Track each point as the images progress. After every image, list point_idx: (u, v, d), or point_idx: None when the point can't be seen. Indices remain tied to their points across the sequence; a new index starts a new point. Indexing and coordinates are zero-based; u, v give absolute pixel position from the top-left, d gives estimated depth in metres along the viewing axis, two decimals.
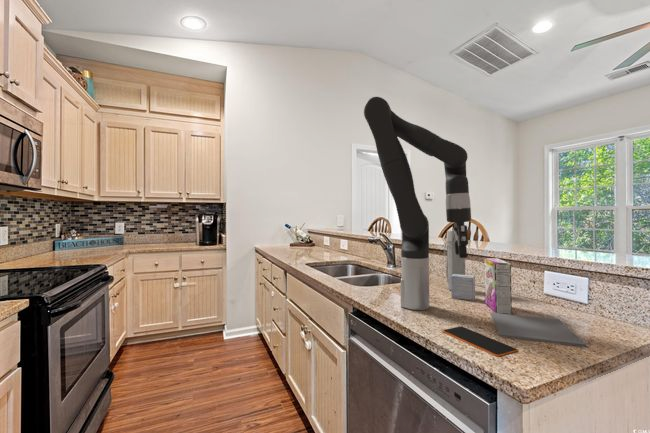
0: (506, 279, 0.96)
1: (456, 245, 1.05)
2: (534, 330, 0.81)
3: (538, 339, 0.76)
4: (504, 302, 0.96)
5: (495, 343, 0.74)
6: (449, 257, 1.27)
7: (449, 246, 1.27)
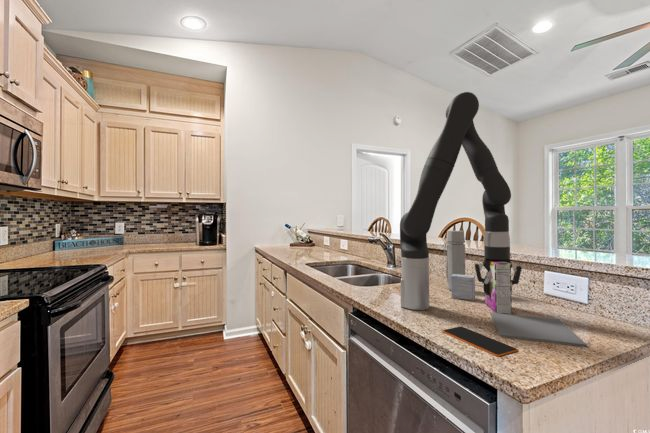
0: (506, 279, 0.96)
1: (488, 285, 1.02)
2: (534, 330, 0.81)
3: (538, 339, 0.76)
4: (504, 302, 0.96)
5: (495, 343, 0.74)
6: (449, 257, 1.27)
7: (449, 246, 1.27)
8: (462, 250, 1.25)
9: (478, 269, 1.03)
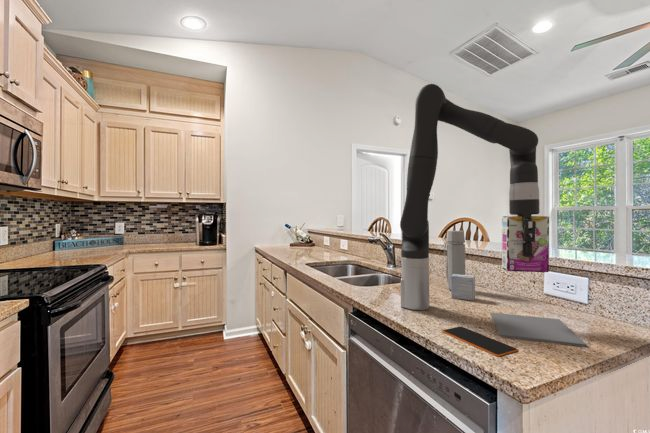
0: None
1: None
2: (534, 330, 0.81)
3: (538, 339, 0.76)
4: None
5: (495, 343, 0.74)
6: (449, 257, 1.27)
7: (449, 246, 1.27)
8: (462, 250, 1.25)
9: None
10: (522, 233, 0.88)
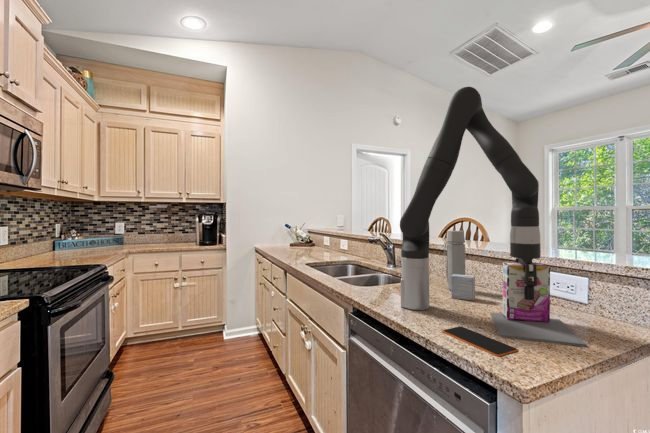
0: None
1: None
2: (534, 330, 0.81)
3: (538, 339, 0.76)
4: None
5: (495, 343, 0.74)
6: (449, 257, 1.27)
7: (449, 246, 1.27)
8: (462, 250, 1.25)
9: None
10: (523, 276, 0.87)
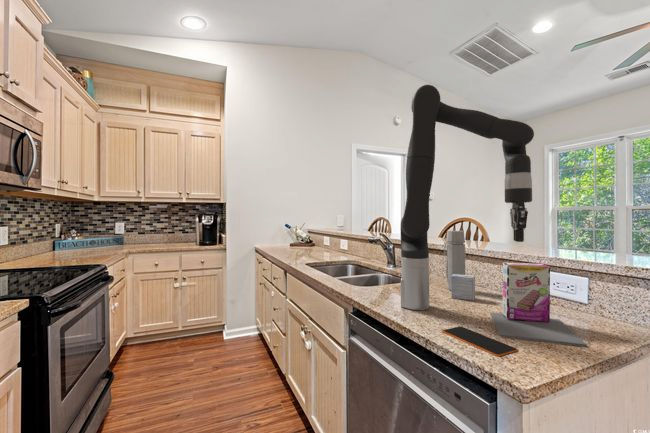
0: None
1: None
2: (534, 330, 0.81)
3: (538, 339, 0.76)
4: None
5: (495, 343, 0.74)
6: (449, 257, 1.27)
7: (449, 246, 1.27)
8: (462, 250, 1.25)
9: None
10: (515, 220, 0.96)
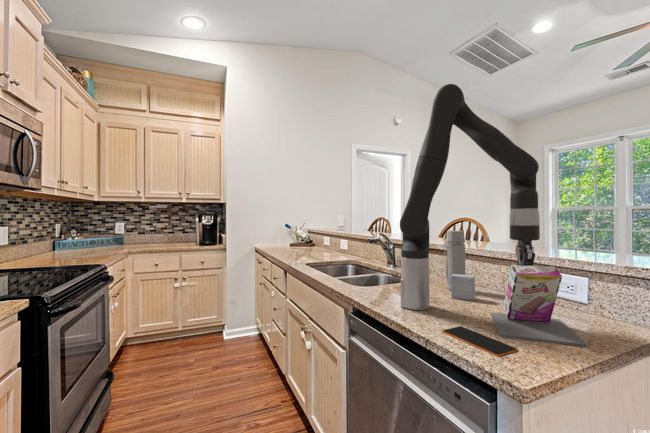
0: None
1: None
2: (534, 330, 0.81)
3: (538, 339, 0.76)
4: None
5: (495, 343, 0.74)
6: (449, 257, 1.27)
7: (449, 246, 1.27)
8: (462, 250, 1.25)
9: None
10: (521, 260, 0.90)
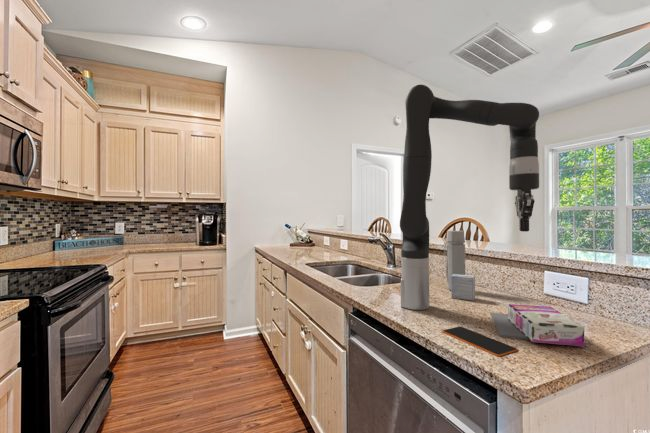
0: None
1: None
2: None
3: None
4: None
5: (495, 343, 0.74)
6: (449, 257, 1.27)
7: (449, 246, 1.27)
8: (462, 250, 1.25)
9: None
10: (520, 209, 0.90)
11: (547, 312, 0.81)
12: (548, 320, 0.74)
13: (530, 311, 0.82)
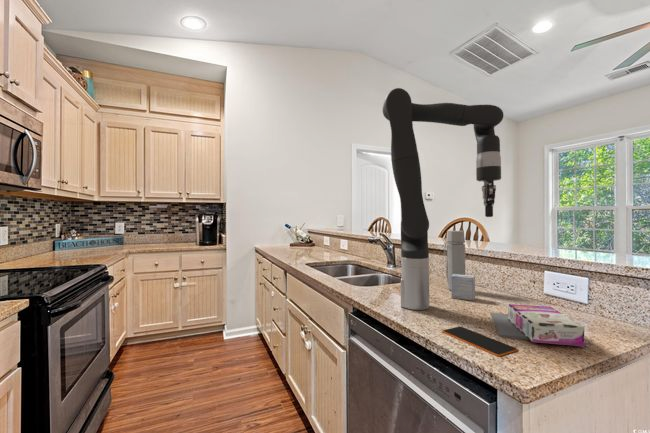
0: None
1: None
2: None
3: None
4: None
5: (495, 343, 0.74)
6: (449, 257, 1.27)
7: (449, 246, 1.27)
8: (462, 250, 1.25)
9: (494, 192, 1.00)
10: (485, 197, 1.03)
11: (547, 312, 0.81)
12: (548, 320, 0.74)
13: (530, 311, 0.82)
